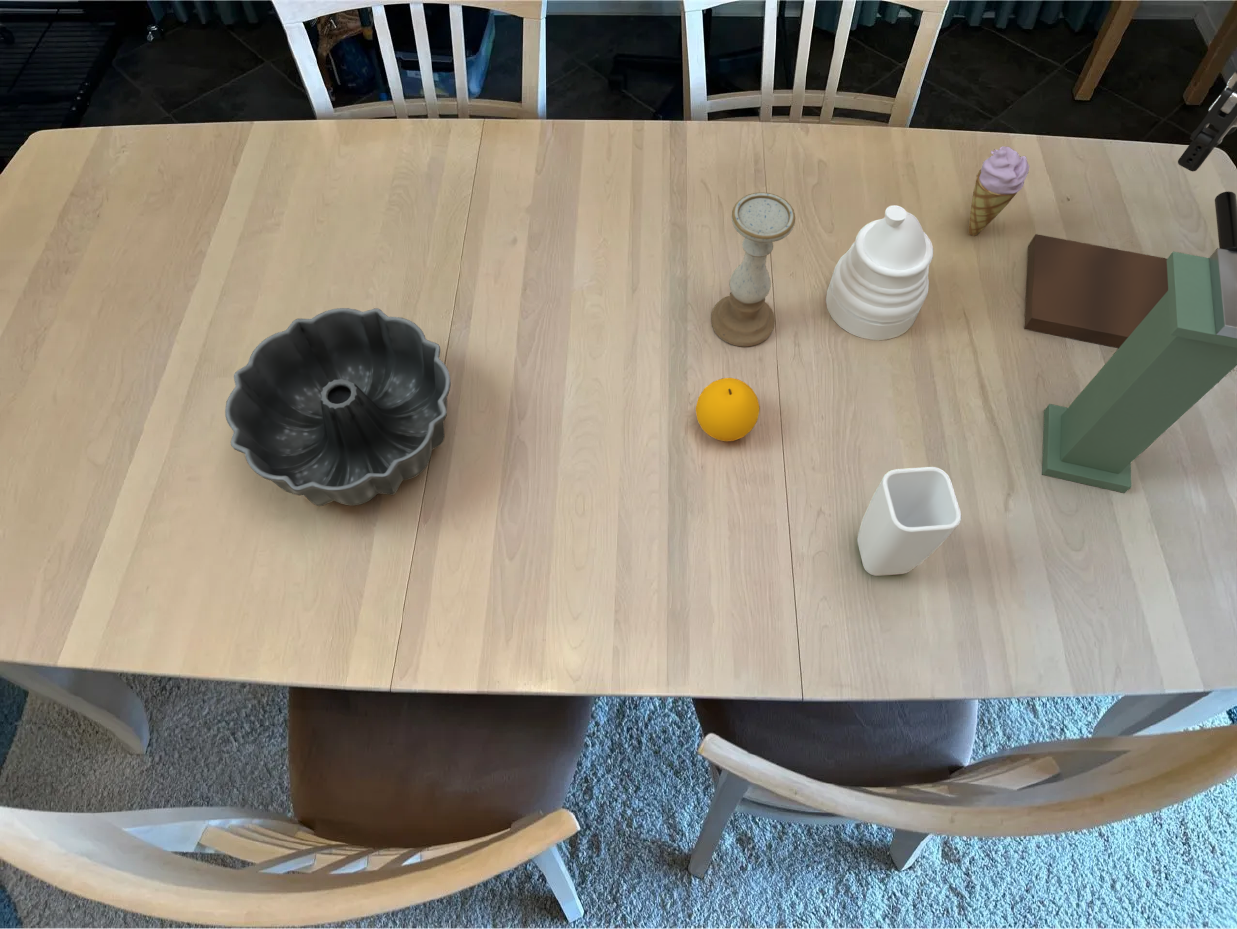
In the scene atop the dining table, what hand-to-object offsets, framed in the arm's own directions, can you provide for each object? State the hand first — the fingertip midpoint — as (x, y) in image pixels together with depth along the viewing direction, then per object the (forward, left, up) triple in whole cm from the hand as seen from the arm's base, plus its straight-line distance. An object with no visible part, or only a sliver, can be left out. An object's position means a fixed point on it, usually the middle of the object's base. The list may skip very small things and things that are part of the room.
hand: (1204, 147), depth 95 cm
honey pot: (+30, +8, -27) cm, 41 cm away
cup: (+24, +46, -27) cm, 58 cm away
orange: (+46, +33, -27) cm, 63 cm away
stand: (+1, +25, -27) cm, 37 cm away
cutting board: (-1, -1, -27) cm, 27 cm away
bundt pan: (+91, +47, -27) cm, 106 cm away
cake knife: (+1, +20, +2) cm, 20 cm away
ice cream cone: (+17, -10, -27) cm, 34 cm away
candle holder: (+47, +16, -27) cm, 56 cm away
